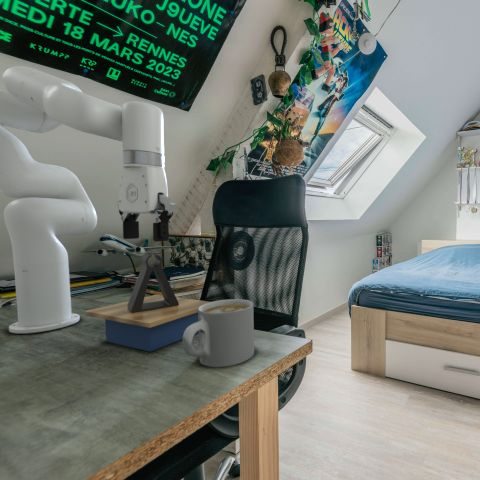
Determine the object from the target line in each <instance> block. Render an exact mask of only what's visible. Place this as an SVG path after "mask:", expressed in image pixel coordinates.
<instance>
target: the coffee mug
mask: <svg viewBox="0 0 480 480" xmlns="http://www.w3.org/2000/svg"><path fill="white" fill-rule="evenodd" d="M209 302H210V303H206V304H204V305H202V306H200V307H199V308H198V322H196V323H193V324H192V325H190V326H188V327H187V328H186V330H185V331H184V334H183V339H182V348H183V351H184V352H185V353H186V354H187V355H189V356H191V357H197V358H198V357H199V362H200V364H201V365H204V366H205V367H209V368H225V367H231V366H235V365H238V364H241V363H244V362H246V361H248V360H250V359H251V358H252V357H253V356H254V354H255V323H254V303H253V302H252V301H251V300H249V299H239V298H235V299H234V298H233V299H220V300H214V301H209ZM197 331H199V333H198V345H197V346H196V347H194V344H193V340H194V336H195V335H196V334H197V333H196V332H197ZM195 333H196V334H195Z"/></svg>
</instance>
